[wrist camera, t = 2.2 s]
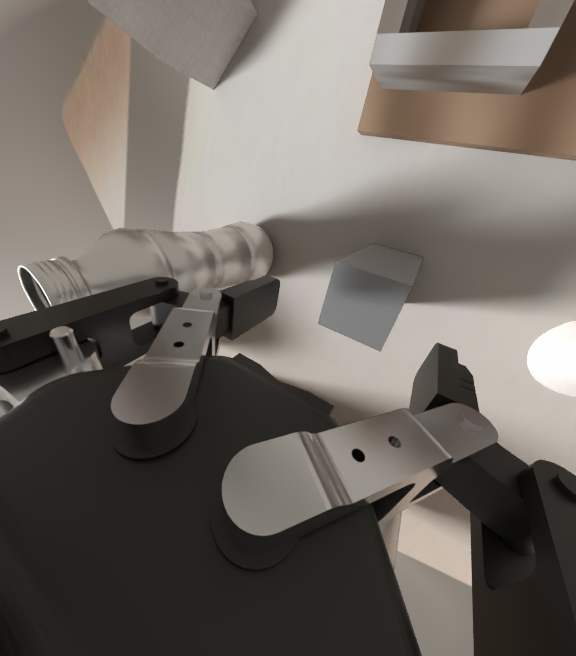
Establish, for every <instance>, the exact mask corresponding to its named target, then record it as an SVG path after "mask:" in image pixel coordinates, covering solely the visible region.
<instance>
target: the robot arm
mask: <svg viewBox="0 0 576 656" xmlns="http://www.w3.org/2000/svg"><path fill="white" fill-rule="evenodd" d="M279 288H280V281H279V280H278V279H276V278H273V277H271V276H268V275H265V276H262V277H260V278H257V279H255V280H249V281H245V282H243V283H241V284H237V285H235V286H232V287H229V288H227V289H224V290H222V291H218V290H216V289H213V288H206V287H203V288H196V289H194V290H192V291H191V292H190V293H187V292H183V291H179V286H178V281H177V280H175V279H173V278H169V277H155V278H150V279H147V280H143V281H140V282H136V283H133V284H129V285H126V286H122V287H118V288H115V289H111V290H108V291H104V292H101V293H97V294H94V295H90V296H86V297H83V298H79V299H76V300H72V301H69V302H65V303H62V304H58V305H55V306H51V307H47V308H44V309H40V310H37V311H33V312H30V313H26V314H23V315H19V316H15V317H12V318H9V319H5V320H1V321H0V407H1V408H2V409H3V411H4V412H5V413H6V414H5V415H3V416H2V417H0V656H422V655H421V652H420V649H419V646H418V643H417V640H416V637H415V634H414V631H413V627H412V624H411V621H410V618H409V615H408V612H407V609H406V606H405V603H404V601H403V597H402V594H401V591H400V588H399V585H398V582H397V579H396V576H395V573H394V569H395V561H396V553H397V546H398V538H399V531H400V523H401V515H402V510H404V509H406V508H408V507H409V506H411V505H413V504H415V503H417V502H419V501H421V500H422V499H424V498H426V497H428V496H430V495H432V494H434V493H436V492H437V491H439V490H441V489H443V488H444V489H446V490H447V491H448V492H449V493H450V494H451V495H452V496H453V497H454V498H456V499H457V500H458V501H459V502H460V503H461V504H462V505H463V506H464V507H466V508H467V509H468V510H469V511H470V522H471V560H472V596H473V598H472V599H473V636H474V656H576V476H575V475H574V474H572V473H571V472H569V471H568V470H566V469H564V468H563V467H561V466H559V465H557V464H555V463H552V462H549V461H545V460H537V461H535V462H534V463H533V464H531V465H530V466H529V465H527V464H526V463H524V462H523V461H522V460H520V459H519V458H517V457H516V456H514V455H513V454H511V453H510V452H509V451H507V450H506V449H505V448H503V447H502V446H501V445H499V444H498V443H497V440H498V434H497V431H496V429H495V428H494V426H493V425H492V424H491V422H490V421H489V420H488V419H487V418H486V417H484V416H483V415H482V414H481V413H479V408H478V402H477V397H476V393H475V386H474V380H473V376H472V374H471V373H470V372H469V370H468V369H467V368H466V366H463V365H461V364H459V363H458V355H457V350H455V349H452V348H450V347H447V346H445V345H442V344H440V343H436V344H435V346H434V347H433V348H432V350H431V352H430V353H429V355H428V356H427V358H426V359H425V361H424V362H423V364H422V366H421V367H420V369H419V370H418V372H417V374H416V376H415V379H414V382H413V389H412V395H411V401H410V407H409V410H408V409H407V408H402V409H398V410H395V411H392V412H388V413H385V414H381V415H378V416H375V417H371V418H368V419H364V420H361V421H358V422H354V423H351V424H347V425H344V426H341V425H340V424H339V423H338V422H337V421H336V420H335V418H333V417H332V416H331V415H330V414H331V412H332V409H333V407H334V406H333V405H331V404H329V403H327V402H326V401H324V400H322V399H320V398H319V397H317V396H315V395H313V394H311V393H310V392H308V391H305V390H302V389H299V388H296V387H293V386H290V385H287V384H284V383H281V382H279V381H278V380H276V379H275V378H274V377H273V376H272V375H271V374H270V373H269V372H268V371H267V370H265V369H264V368H263V367H262V366H261V365H260V364H258V363H256V362H255V361H253V360H251V359H249V358H247V357H246V356H244V355H242V354H240V353H239V354H238V355H236V356H235V357H234V358H229V357H225V356H218V353H219V348H220V343H221V337H222V336H225V337H226V338H228V339H230V340H234V339H235V338H237V337H238V336H240V335H241V334H243V333H245V332H246V331H248V330H249V329H251V328H252V327H254V326H256V325H257V324H259V323H260V322H262V321H263V320H265V319H266V318H268V317H270V316H271V315H272V314H273V313H274V311H275V309H276V306H277V300H278V294H279ZM149 307H150V313H151V319H152V321H150V322H148V323H146V324H143V325H141V326H139V327H137V328H134V329H132V330H131V327H130V318H131V316H132V315H133V314H134V313H136V312H138V311H141V310H143V309H146V308H149ZM145 354H146V355H145ZM143 355H145V357H144V358H143V359H142V360H137V361H136V362H135V363H134V364H133V365H130V366H125V365H127V364H128V363H130V362H132V361H134V360H136V359H137V358H139V357H141V356H143Z"/></svg>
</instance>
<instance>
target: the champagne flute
mask: <svg viewBox="0 0 576 656" xmlns="http://www.w3.org/2000/svg"><path fill="white" fill-rule="evenodd" d="M527 364H528V368H529V370H530V372H531V374H532V375H533V377H534V378H535V379H536V380H537V381H538V382H540V383H541V384H542V385H543V386H545V387H547V388H549V389H551V390H553V391H556V392H559V393H561V394H565V395H569V396H574V397H576V321H572V322H568V323H565V324H562V325H559V326H557V327H554V328H552V329H551V330H549V331H547V332H545V333H544V334H543V335H541V336H540V337H539V338H538V339H537V340H536V341H535V342H534V343H533V344H532V346H531V348H530V350H529V352H528V356H527Z"/></svg>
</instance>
